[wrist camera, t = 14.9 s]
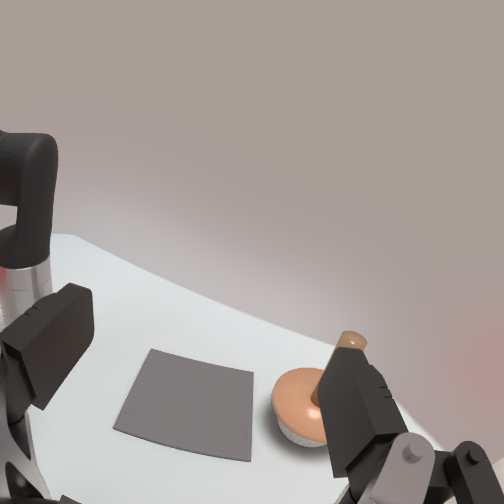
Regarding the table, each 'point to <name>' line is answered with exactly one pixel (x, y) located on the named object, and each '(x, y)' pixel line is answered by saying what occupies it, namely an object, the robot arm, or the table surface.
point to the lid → (306, 395)
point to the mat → (190, 406)
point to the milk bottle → (500, 468)
